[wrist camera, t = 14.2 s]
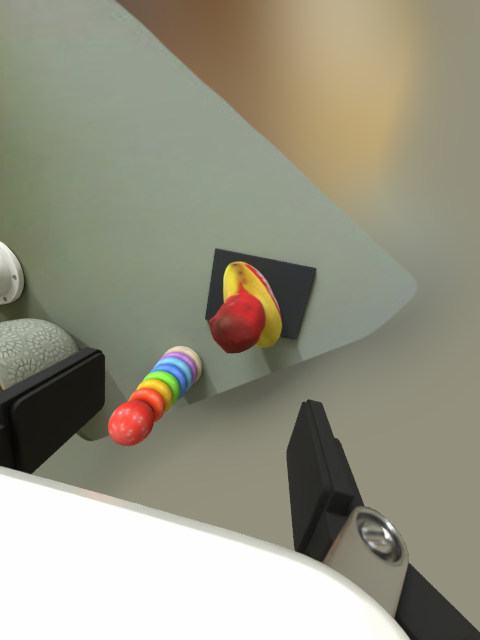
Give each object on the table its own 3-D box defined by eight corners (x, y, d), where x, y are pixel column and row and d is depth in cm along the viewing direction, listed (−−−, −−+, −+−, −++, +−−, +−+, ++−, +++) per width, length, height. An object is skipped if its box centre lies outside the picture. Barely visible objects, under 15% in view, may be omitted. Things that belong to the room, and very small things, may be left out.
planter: (73, 400, 50) (-10, 461, 35) (9, 351, 48) (-105, 393, 34) (109, 349, 45) (29, 396, 30) (38, 293, 43) (-81, 313, 29)
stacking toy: (212, 363, 42) (167, 443, 24) (187, 389, 45) (130, 479, 27) (179, 336, 42) (109, 398, 24) (156, 364, 44) (77, 438, 26)
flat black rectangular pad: (206, 318, 40) (205, 319, 39) (216, 248, 36) (215, 248, 36) (295, 338, 39) (295, 339, 38) (315, 268, 35) (316, 268, 34)
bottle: (224, 267, 36) (170, 282, 17) (262, 252, 35) (248, 250, 16) (250, 333, 39) (228, 410, 20) (286, 322, 37) (299, 393, 18)
